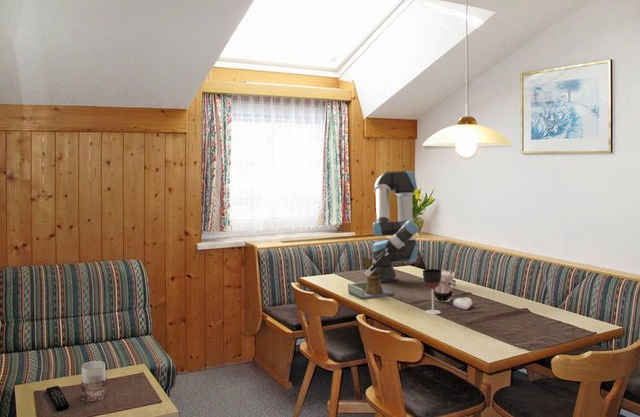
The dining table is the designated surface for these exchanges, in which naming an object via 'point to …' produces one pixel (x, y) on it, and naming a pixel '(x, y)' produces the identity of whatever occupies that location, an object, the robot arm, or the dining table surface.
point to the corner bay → (360, 291)
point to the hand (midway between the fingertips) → (367, 272)
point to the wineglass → (432, 284)
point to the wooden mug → (372, 279)
